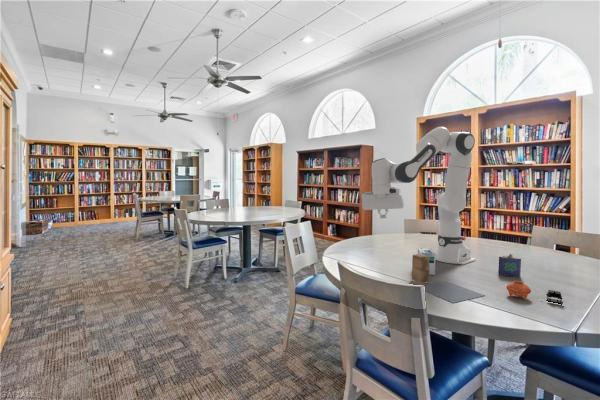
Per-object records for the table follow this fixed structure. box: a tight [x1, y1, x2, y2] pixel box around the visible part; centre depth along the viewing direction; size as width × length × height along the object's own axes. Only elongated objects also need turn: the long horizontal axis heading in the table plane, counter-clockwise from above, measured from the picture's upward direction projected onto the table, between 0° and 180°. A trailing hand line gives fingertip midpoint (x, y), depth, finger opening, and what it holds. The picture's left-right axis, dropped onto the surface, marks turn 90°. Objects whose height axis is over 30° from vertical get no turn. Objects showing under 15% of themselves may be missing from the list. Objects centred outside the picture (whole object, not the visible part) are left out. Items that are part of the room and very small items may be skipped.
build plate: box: [545, 289, 564, 305], centre depth 115 cm, size 12×7×5 cm, turn 53°
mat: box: [423, 280, 486, 304], centre depth 126 cm, size 18×18×1 cm
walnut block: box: [411, 253, 430, 285], centre depth 137 cm, size 5×5×12 cm
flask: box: [497, 253, 522, 277], centre depth 146 cm, size 9×3×11 cm, turn 74°
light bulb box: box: [417, 247, 436, 276], centre depth 152 cm, size 11×7×11 cm, turn 168°
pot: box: [506, 280, 532, 300], centre depth 120 cm, size 8×8×7 cm
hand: (383, 218), depth 152 cm, fingers closed
